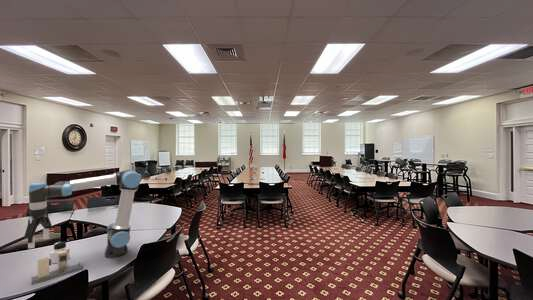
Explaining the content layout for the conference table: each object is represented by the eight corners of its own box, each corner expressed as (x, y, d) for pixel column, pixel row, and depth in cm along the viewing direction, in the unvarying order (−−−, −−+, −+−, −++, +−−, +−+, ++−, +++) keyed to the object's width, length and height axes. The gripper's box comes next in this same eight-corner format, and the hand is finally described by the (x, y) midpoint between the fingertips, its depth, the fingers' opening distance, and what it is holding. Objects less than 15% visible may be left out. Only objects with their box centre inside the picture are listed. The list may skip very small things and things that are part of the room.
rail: (81, 265, 159) (81, 248, 158) (83, 269, 154) (83, 251, 154) (31, 280, 141) (31, 261, 141) (32, 284, 137) (31, 264, 137)
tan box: (58, 267, 156) (58, 252, 156) (66, 265, 159) (66, 250, 159) (59, 270, 152) (59, 255, 152) (67, 268, 155) (67, 253, 155)
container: (69, 258, 169) (69, 240, 169) (60, 263, 162) (60, 245, 161) (59, 258, 169) (58, 240, 169) (49, 263, 161) (49, 245, 161)
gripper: (43, 203, 150) (44, 236, 151) (14, 214, 126) (15, 253, 127) (57, 203, 153) (58, 234, 153) (31, 213, 129) (32, 251, 129)
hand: (39, 243), depth 140 cm, fingers open, 13 cm apart
